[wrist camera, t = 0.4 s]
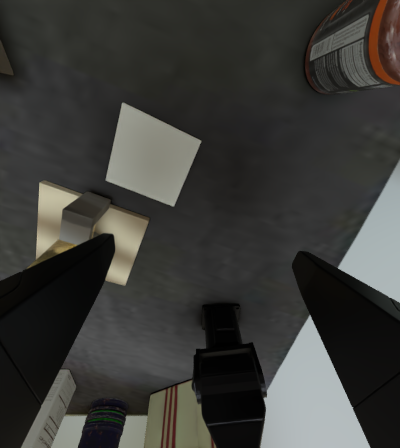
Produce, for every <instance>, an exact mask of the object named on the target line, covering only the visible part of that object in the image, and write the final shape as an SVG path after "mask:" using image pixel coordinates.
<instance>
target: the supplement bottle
mask: <svg viewBox="0 0 400 448" xmlns="http://www.w3.org/2000/svg"><path fill="white" fill-rule="evenodd" d="M305 72H306V76H307V79H308V81H309V83H310V85H311V86H312V87H313V88H314V89H315V90H316V91H318V92H320V93H323V94H341V93H348V92H355V91H363V90H370V89H377V88H384V87H391V86H399V85H400V0H346V1H344V2H343V3H342V4H341V5H339V6H338V7H337V8H335V9H334V10H333V11H332V12H331V13H330V14H329V15H328V16H327V17H326V18H325V19H324V20H323V21H322V22H321V24H320V25H319V26H318V28H317V29H316V31H315V33H314V34H313V36H312V37H311V40H310V43H309V45H308V49H307V53H306V59H305Z"/></svg>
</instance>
